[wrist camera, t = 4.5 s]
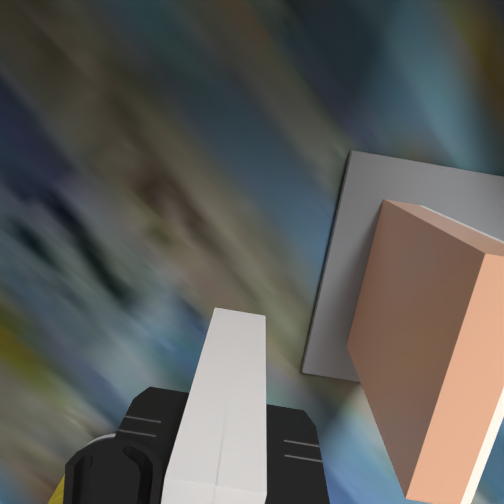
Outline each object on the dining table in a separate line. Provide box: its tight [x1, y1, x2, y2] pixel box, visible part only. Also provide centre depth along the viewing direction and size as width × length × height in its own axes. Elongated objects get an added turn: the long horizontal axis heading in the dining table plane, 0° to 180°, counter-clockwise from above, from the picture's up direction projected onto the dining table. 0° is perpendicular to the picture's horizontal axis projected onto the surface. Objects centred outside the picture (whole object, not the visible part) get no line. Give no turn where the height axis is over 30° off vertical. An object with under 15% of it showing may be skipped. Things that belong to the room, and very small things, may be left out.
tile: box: [347, 199, 504, 504], centre depth 17 cm, size 2×8×10 cm, turn 170°
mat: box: [302, 150, 504, 382], centre depth 22 cm, size 14×12×1 cm
